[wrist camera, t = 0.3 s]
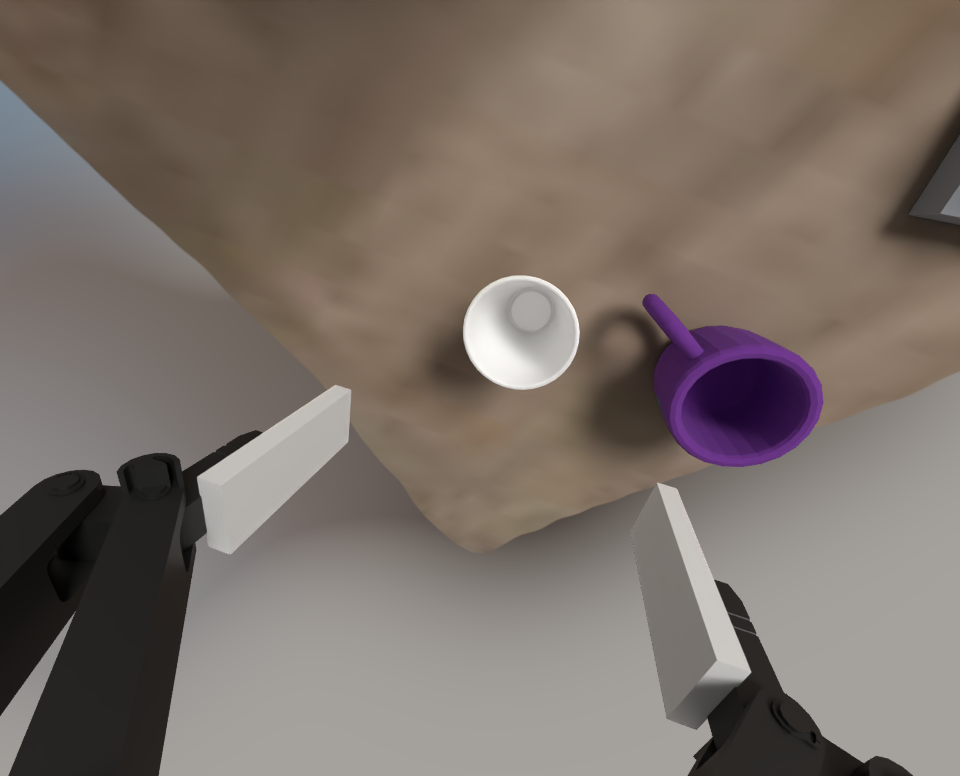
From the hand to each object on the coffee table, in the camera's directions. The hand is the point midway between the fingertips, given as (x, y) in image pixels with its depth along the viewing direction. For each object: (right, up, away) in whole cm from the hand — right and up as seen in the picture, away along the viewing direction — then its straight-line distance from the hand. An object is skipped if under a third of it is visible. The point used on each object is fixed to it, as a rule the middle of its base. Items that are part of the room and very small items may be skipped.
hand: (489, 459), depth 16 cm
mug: (+22, +7, +24) cm, 33 cm away
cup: (+5, +12, +26) cm, 29 cm away
